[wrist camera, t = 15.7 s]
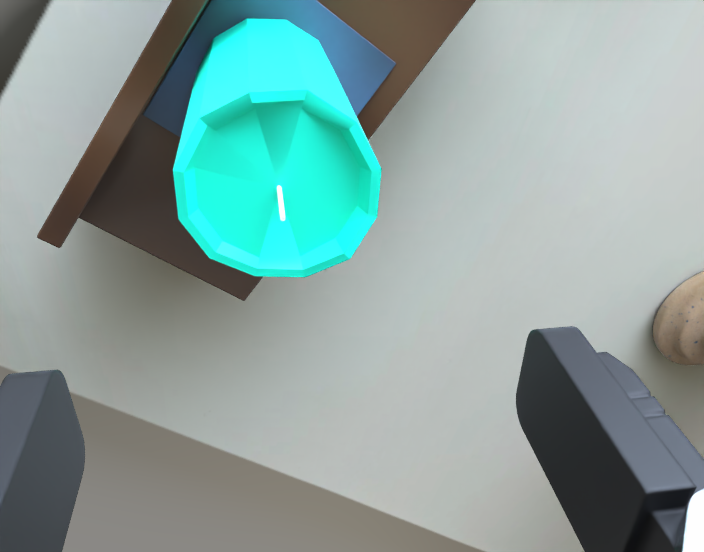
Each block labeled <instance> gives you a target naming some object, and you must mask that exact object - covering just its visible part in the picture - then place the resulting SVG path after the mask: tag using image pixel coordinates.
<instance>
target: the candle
mask: <svg viewBox="0 0 704 552" xmlns="http://www.w3.org/2000/svg"><path fill="white" fill-rule="evenodd" d="M381 170H382V169H381V167H380V165H379V163H378V161H377V159H376V157H375V154H374V152H373V150H372V148H371V146H370V144H369V142H368V140H367V138H366V136H365V134H364V132H363V130H362V127H361V125H360V123H359V121H358V119H357V117H356V115H355V113H354V111H353V109H352V107H351V105H350V103H349V100H348V98H347V96H346V94H345V92H344V90H343V88H342V86H341V84H340V82H339V80H338V78H337V76H336V74H335V72H334V70H333V68H332V66H331V64H330V62H329V60H328V58H327V56H326V54H325V52H324V50H323V48H322V47H321V45H320V43H319V41H318V40H317V39H315V38H314V37H312V36H311V35H309V34H307V33H306V32H304V31H303V30H301V29H300V28H298V27H296V26H295V25H293V24H292V23H290V22H289V21H287V20H282V19H248V18H247V19H245V20H243V21H242V22H240V23H238V24H237V25H235V26H233V27H232V28H230V29H228V30H226V31H225V32H223V33H221V34H220V35H218V36H216V37H215V38H213V40H212V42H211V44H210V46H209V48H208V50H207V52H206V54H205V56H204V58H203V60H202V62H201V64H200V66H199V68H198V70H197V72H196V76H195V81H194V85H193V89H192V93H191V97H190V101H189V105H188V109H187V114H186V118H185V122H184V126H183V130H182V134H181V138H180V143H179V147H178V151H177V155H176V159H175V163H174V167H173V176H174V185H175V193H176V202H177V210H178V219H179V221H180V222H181V223H182V224H183V226H184V227H185V228H186V229H187V231H188V232H189V233H190V234H191V236H192V237H193V238H194V239H195V241H196V242H197V243H198V244H199V246H200V247H201V248H202V250H203V251H204V252H205V253H206V255H207V256H208V257H209V258H210V259H213V260H215V261H218V262H220V263H223V264H225V265H228V266H230V267H233V268H236V269H238V270H241V271H243V272H246V273H248V274H251V275H253V276H267V277H307V276H310V275H312V274H315V273H317V272H319V271H322V270H324V269H327V268H329V267H332V266H334V265H337V264H339V263H341V262H344V261H346V260H349V259H350V258H351V257H352V255H353V254H354V252H355V251H356V249H357V247H358V246H359V244H360V243H361V241H362V240H363V238H364V237H365V235H366V233H367V232H368V230H369V229H370V227H371V226H372V224H373V223H374V221H375V219H376V218H377V213H378V202H379V191H380V181H381Z"/></svg>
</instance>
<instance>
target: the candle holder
mask: <svg viewBox="0 0 704 552" xmlns="http://www.w3.org/2000/svg"><path fill="white" fill-rule="evenodd" d="M653 338H654V342H655V344H656V346H657V347H658V349H659V350H660V351H661V353H662V354H663V355H664V356H665V357H666V358H668V359H669V360H671V361H672V362H675V363H678V364H682V365H702V364H704V271H703V272H700V273H698V274H696V275H694V276H693V277H691V278H689V279H688V280H686V281H685V282H683V283H682V284H681V285H679V286H678V287H677V288H676V289H675V290H674V291H673V292H672V293H671V294H670V295H669V296H668V297H667V298H666V299H665V301H664V302H663V304H662V305H661V307H660V308H659V310H658V312H657V314H656V317H655V320H654V324H653Z"/></svg>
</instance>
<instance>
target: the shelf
mask: <svg viewBox="0 0 704 552" xmlns="http://www.w3.org/2000/svg"><path fill="white" fill-rule="evenodd" d="M475 1H476V0H172V1H171V3H170V5H169V6H168V8H167V10H166V12H165V13H164V15H163V17H162V19H161V20H160V22H159V24H158V26H157V27H156V29H155V31H154V33H153V34H152V36H151V38H150V39H149V41H148V43H147V45H146V46H145V48H144V50H143V52H142V53H141V55H140V57H139V59H138V60H137V62H136V64H135V66H134V67H133V69H132V71H131V73H130V74H129V76H128V78H127V80H126V81H125V83H124V85H123V87H122V88H121V90H120V92H119V94H118V95H117V97H116V99H115V101H114V102H113V104H112V106H111V108H110V109H109V111H108V113H107V115H106V116H105V118H104V120H103V122H102V123H101V125H100V127H99V129H98V130H97V132H96V134H95V135H94V137H93V139H92V141H91V142H90V144H89V146H88V148H87V149H86V151H85V153H84V155H83V156H82V158H81V160H80V162H79V163H78V165H77V167H76V169H75V170H74V172H73V174H72V176H71V177H70V179H69V181H68V183H67V184H66V186H65V188H64V190H63V191H62V193H61V195H60V197H59V198H58V200H57V202H56V204H55V205H54V207H53V209H52V211H51V212H50V214H49V216H48V218H47V219H46V221H45V223H44V224H43V226H42V228H41V230H40V231H39V233H38V235H37V238H39V239H41V240H43V241H45V242H47V243H49V244H51V245H54V246H56V247H58V248H60V247H61V246H62V245H63V243H64V241H65V239H66V238H67V236H68V234H69V233H70V231H71V229H72V228H73V226H74V224H75V223H76V221H77V219H78V218H81V219H83V220H85V221H87V222H89V223H91V224H93V225H95V226H96V227H98V228H100V229H102V230H104V231H106V232H108V233H110V234H112V235H114V236H116V237H118V238H120V239H122V240H124V241H126V242H128V243H130V244H132V245H134V246H136V247H138V248H140V249H142V250H144V251H146V252H148V253H150V254H152V255H154V256H156V257H158V258H160V259H162V260H164V261H166V262H168V263H170V264H172V265H174V266H176V267H178V268H180V269H182V270H184V271H186V272H188V273H189V274H191V275H193V276H195V277H197V278H199V279H201V280H203V281H205V282H207V283H209V284H211V285H213V286H215V287H217V288H219V289H221V290H223V291H225V292H227V293H229V294H231V295H233V296H235V297H237V298H239V299H241V300H243V301H245V299H246V298H247V297H248V296H249V294H250V293H251V292H252V290H253V289H254V288H255V287H256V285H257V284H258V283H259V281H260V280H261V279H262V277H263V276H253V275H251V274H248V273H246V272H243V271H241V270H238V269H236V268H233V267H230V266H228V265H225V264H223V263H220V262H218V261H215V260H213V259H210V258H209V257H208V256H207V255H206V253H205V252H204V251H203V250H202V248H201V247H200V246H199V244H198V243H197V242H196V241H195V239H194V238H193V237H192V236H191V234H190V233H189V232H188V231H187V229H186V228H185V227H184V226H183V224H182V223H181V222H180V221H179V219H178V210H177V202H176V193H175V185H174V176H173V167H174V163H175V159H176V155H177V151H178V147H179V143H180V138H181V134H182V130H183V126H184V122H185V118H186V114H187V109H188V105H189V101H190V97H191V93H192V89H193V85H194V81H195V76H196V72H197V70H198V68H199V66H200V64H201V62H202V60H203V58H204V56H205V54H206V52H207V50H208V48H209V46H210V44H211V42H212V40H213V38H215V37H216V36H218V35H220V34H221V33H223V32H225V31H226V30H228V29H230V28H232V27H233V26H235V25H237V24H238V23H240V22H242V21H243V20H245V19H247V18H248V19H282V20H287V21H289V22H290V23H292V24H293V25H295V26H296V27H298V28H300V29H301V30H303V31H304V32H306V33H307V34H309V35H311V36H312V37H314V38H315V39H317V40H318V41H319V43H320V45H321V47H322V48H323V50H324V52H325V54H326V56H327V58H328V60H329V62H330V64H331V66H332V68H333V70H334V72H335V74H336V76H337V78H338V80H339V82H340V84H341V86H342V88H343V90H344V92H345V94H346V96H347V98H348V100H349V103H350V105H351V107H352V109H353V111H354V113H355V115H356V117H357V119H358V121H359V123H360V125H361V127H362V130H363V132H364V134H365V136H366V138H367V140H369V138H370V137H371V136H372V134H373V133H374V132H375V131H376V129H377V128H378V127H379V125H380V124H381V123H382V121H383V120H384V119H385V118H386V116H387V115H388V114H389V112H390V111H391V110H392V108H393V107H394V106H395V105H396V103H397V102H398V101H399V99H400V98H401V97H402V95H403V94H404V93H405V92H406V90H407V89H408V88H409V86H410V85H411V84H412V82H413V81H414V80H415V79H416V77H417V76H418V75H419V73H420V72H421V71H422V70H423V68H424V67H425V66H426V64H427V63H428V62H429V60H430V59H431V58H432V57H433V55H434V54H435V53H436V51H437V50H438V49H439V47H440V46H441V45H442V44H443V42H444V41H445V40H446V38H447V37H448V36H449V34H450V33H451V32H452V31H453V29H454V28H455V27H456V25H457V24H458V23H459V21H460V20H461V19H462V18H463V16H464V15H465V14H466V12H467V11H468V10H469V8H470V7H471V6H472V5H473V3H474V2H475Z"/></svg>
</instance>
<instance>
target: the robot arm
mask: <svg viewBox="0 0 704 552" xmlns="http://www.w3.org/2000/svg"><path fill="white" fill-rule="evenodd" d="M516 408H517V414H518V418H519V422H520V424H521V427H522V429H523V431H524V433H525V435H526V437H527V439H528V441H529V443H530V445H531V447H532V449H533V451H534V453H535V455H536V457H537V459H538V461H539V463H540V465H541V466H542V468H543V470H544V472H545V474H546V476H547V478H548V480H549V482H550V484H551V486H552V488H553V490H554V492H555V494H556V496H557V498H558V500H559V502H560V504H561V506H562V508H563V510H564V512H565V514H566V516H567V517H568V519H569V521H570V523H571V525H572V527H573V529H574V531H575V533H576V535H577V537H578V539H579V541H580V543H581V545H582V547H583V549H584V551H585V552H704V459H703V458H702V456H701V455H700V454H699V453H698V451H697V450H696V449H695V447H694V446H693V445H692V444H691V442H690V441H689V440H688V439H687V437H686V436H685V435H684V434H683V432H682V431H681V430H680V429H679V427H678V426H677V425H676V424H675V422H674V421H673V420H672V419H671V417H670V416H669V415H665V410H664V409H663V407H662V406H661V405H660V404H659V402H658V401H657V400H656V399H655V397H654V396H653V397H651V395H650V391H649V390H648V389H647V387H646V386H645V385H644V383H643V382H642V381H641V380H640V378H639V377H638V376H637V375H636V373H635V372H634V371H633V370H632V369H631V368H629V367H628V366H626V365H625V364H623V363H622V362H621V361H619V360H618V359H616V358H615V357H613V356H612V355H610V354H609V353H607V352H600V353H596V351H595V350H594V349H593V347H592V346H591V345H590V343H589V342H588V341H587V339H586V338H585V337H584V335H583V334H582V333H581V331H580V330H579V329H578V328H576V327H573V326H570V327H559V328H547V329H536V330H532V331H531V332H530V333H529V335H528V338H527V342H526V347H525V352H524V357H523V362H522V367H521V372H520V377H519V382H518V387H517V393H516ZM84 463H85V446H84V438H83V435H82V431H81V428H80V424H79V421H78V418H77V415H76V412H75V409H74V406H73V402H72V399H71V396H70V393H69V390H68V387H67V383H66V380H65V378H64V375H63V374H62V372H61V371H59V370H48V371H37V372H25V373H14V374H9V375H7V376H6V377H5V378H4V380H3V382H2V384H1V386H0V552H62V549H63V545H64V541H65V538H66V534H67V531H68V527H69V523H70V520H71V516H72V512H73V509H74V505H75V501H76V497H77V494H78V490H79V486H80V483H81V479H82V475H83V471H84Z"/></svg>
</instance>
